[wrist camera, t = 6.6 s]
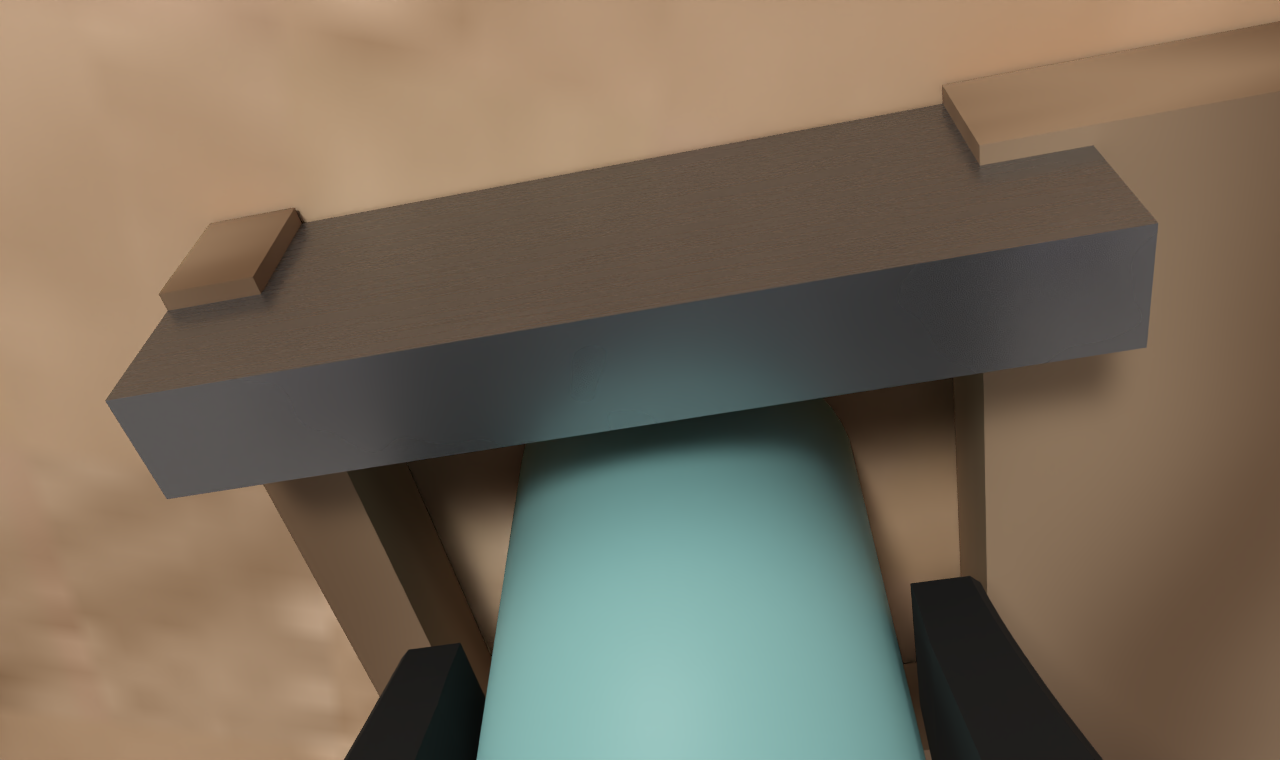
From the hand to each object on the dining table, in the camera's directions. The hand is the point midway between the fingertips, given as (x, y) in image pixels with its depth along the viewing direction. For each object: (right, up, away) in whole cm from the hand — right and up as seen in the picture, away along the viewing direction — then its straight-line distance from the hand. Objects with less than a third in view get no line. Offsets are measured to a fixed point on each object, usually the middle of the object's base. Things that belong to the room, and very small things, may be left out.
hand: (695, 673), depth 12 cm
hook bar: (-1, +5, 0) cm, 5 cm away
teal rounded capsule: (0, +2, +2) cm, 3 cm away
